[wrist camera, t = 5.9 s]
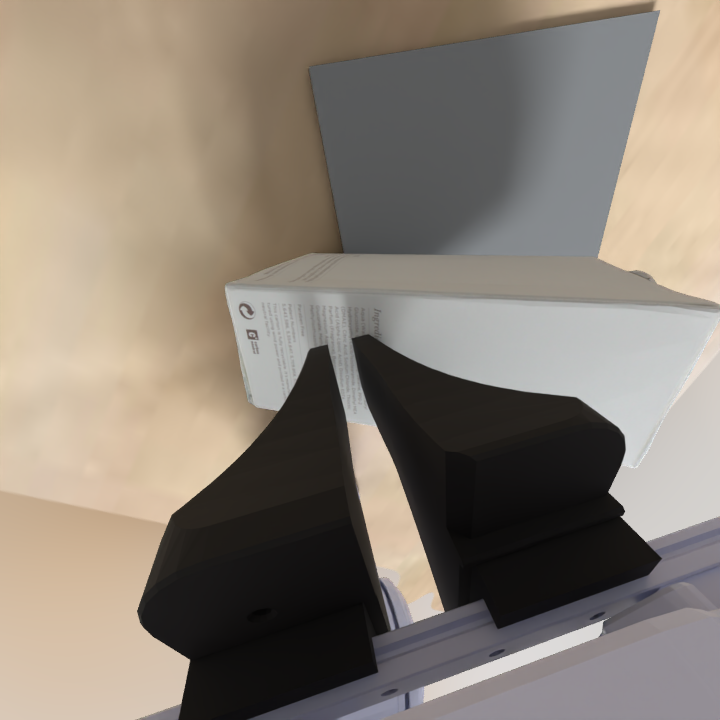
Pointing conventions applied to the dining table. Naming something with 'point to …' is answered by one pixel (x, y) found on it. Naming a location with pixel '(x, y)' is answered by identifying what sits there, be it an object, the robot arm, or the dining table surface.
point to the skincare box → (478, 328)
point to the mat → (483, 140)
